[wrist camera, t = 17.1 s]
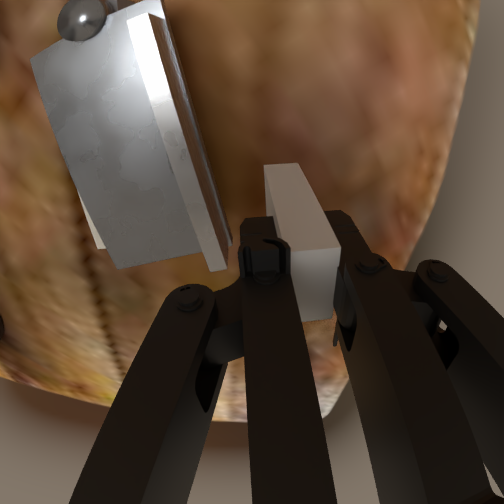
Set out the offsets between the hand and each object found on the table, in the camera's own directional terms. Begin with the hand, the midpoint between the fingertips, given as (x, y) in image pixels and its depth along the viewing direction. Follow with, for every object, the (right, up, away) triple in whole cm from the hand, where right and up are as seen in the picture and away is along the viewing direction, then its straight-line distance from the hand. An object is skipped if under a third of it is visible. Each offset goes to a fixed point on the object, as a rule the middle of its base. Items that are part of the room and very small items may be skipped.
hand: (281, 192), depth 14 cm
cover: (-9, +5, +3) cm, 10 cm away
